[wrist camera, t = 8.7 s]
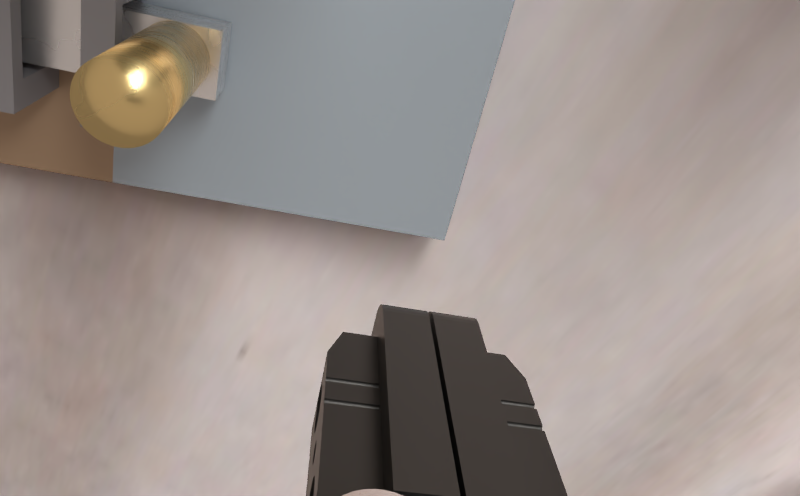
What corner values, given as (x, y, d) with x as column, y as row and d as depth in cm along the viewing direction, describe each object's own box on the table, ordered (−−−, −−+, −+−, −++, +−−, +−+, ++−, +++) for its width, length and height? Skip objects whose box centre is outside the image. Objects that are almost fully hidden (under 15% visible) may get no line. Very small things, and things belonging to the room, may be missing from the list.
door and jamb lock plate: (516, -54, 25) (561, -46, 20) (438, 221, 30) (457, 282, 25) (-114, -221, 21) (-260, -266, 16) (-78, 128, 26) (-178, 179, 21)
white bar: (231, 22, 23) (183, 69, 16) (224, 87, 24) (176, 157, 17) (-71, -46, 21) (-277, -27, 14) (-65, 27, 22) (-253, 79, 15)
